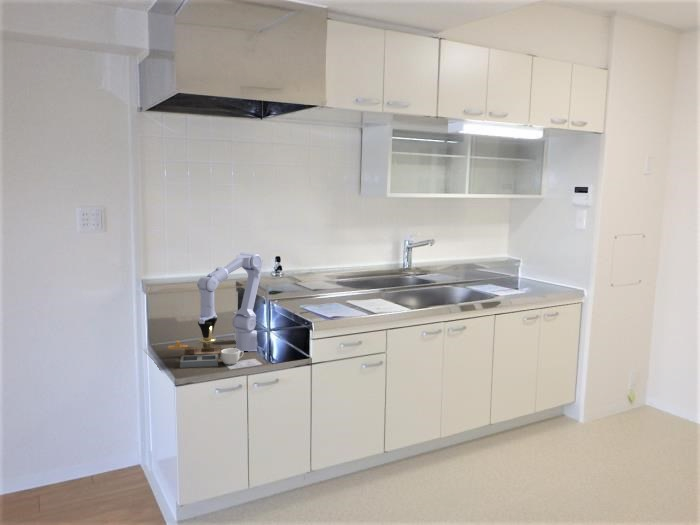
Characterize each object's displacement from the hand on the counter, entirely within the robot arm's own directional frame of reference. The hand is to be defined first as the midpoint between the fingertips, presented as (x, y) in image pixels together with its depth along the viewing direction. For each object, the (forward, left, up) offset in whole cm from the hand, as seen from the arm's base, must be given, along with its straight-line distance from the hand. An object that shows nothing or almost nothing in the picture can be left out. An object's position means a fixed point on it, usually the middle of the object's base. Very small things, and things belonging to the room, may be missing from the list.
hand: (207, 336), depth 245 cm
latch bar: (+13, -7, -7) cm, 16 cm away
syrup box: (-15, -27, -11) cm, 32 cm away
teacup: (-10, +5, -11) cm, 16 cm away
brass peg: (0, 0, -5) cm, 5 cm away
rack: (+3, +4, -11) cm, 12 cm away
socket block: (+2, -7, -10) cm, 13 cm away
